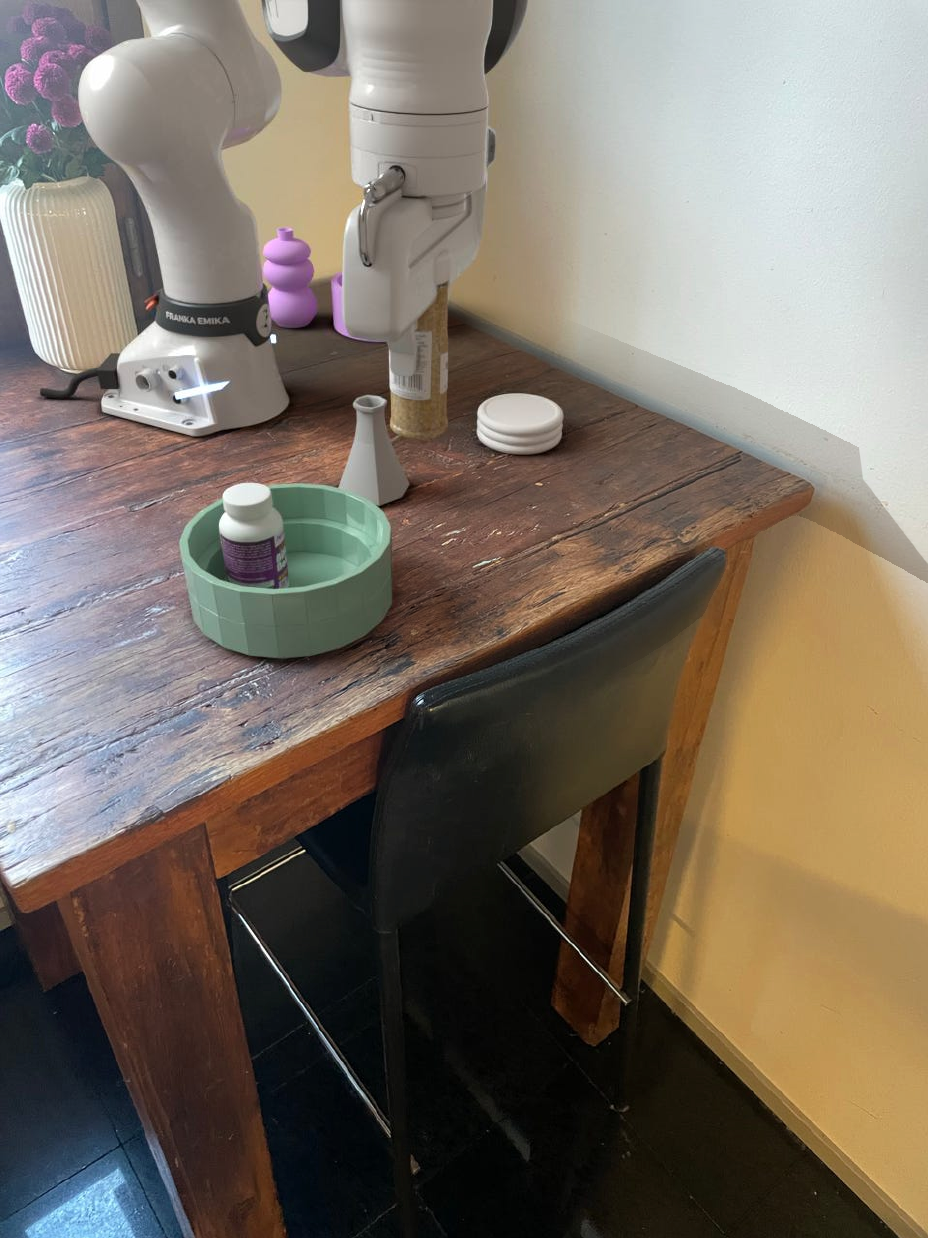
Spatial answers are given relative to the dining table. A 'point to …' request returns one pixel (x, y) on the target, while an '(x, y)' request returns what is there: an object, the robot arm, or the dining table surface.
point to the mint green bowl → (296, 576)
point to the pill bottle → (253, 538)
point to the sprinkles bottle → (426, 370)
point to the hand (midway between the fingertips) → (417, 358)
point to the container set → (296, 284)
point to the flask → (373, 456)
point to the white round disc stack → (519, 423)
